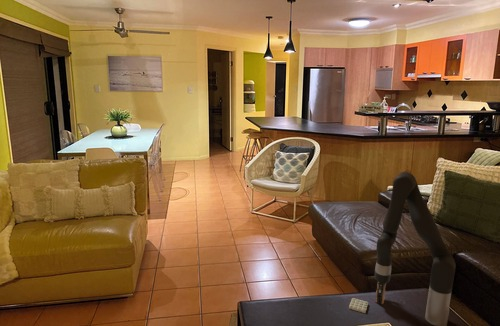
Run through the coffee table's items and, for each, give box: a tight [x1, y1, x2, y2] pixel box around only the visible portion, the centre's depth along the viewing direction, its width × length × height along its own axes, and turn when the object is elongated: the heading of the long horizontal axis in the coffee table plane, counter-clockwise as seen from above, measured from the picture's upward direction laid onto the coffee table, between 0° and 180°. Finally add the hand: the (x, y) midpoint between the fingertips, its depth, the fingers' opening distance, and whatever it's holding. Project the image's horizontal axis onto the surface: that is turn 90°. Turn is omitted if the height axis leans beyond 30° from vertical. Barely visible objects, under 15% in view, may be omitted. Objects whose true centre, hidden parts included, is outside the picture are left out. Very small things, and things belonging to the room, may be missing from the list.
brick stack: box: [375, 288, 386, 305], centre depth 186 cm, size 4×4×6 cm
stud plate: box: [348, 297, 369, 314], centre depth 182 cm, size 8×8×2 cm
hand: (379, 300), depth 186 cm, fingers closed on brick stack, 4 cm apart
